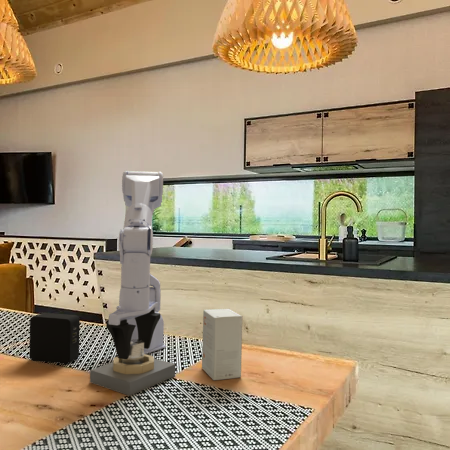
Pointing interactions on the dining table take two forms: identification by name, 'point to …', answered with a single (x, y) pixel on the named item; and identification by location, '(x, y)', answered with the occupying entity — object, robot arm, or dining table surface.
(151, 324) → the robot arm
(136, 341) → the shiny metal cylinder
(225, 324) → the small box
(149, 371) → the grey square plate
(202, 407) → the dining table surface
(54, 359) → the electronic device
